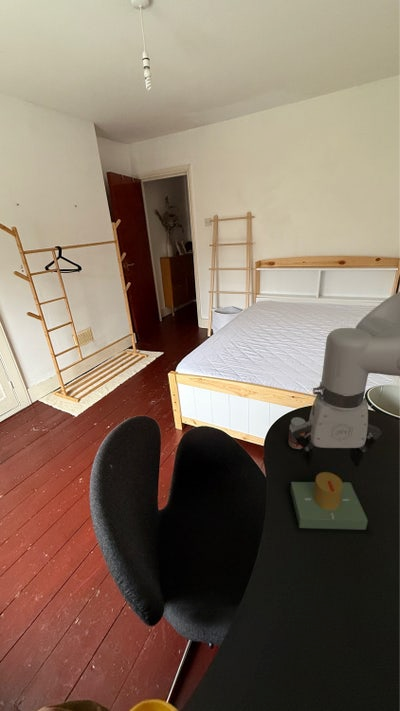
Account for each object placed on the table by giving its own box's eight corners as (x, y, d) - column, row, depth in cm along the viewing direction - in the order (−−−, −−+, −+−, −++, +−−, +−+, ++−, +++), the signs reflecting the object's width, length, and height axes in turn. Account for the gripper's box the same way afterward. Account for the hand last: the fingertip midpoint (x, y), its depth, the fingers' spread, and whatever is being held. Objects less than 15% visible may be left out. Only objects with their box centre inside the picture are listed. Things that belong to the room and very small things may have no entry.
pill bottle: (299, 451, 87) (301, 428, 83) (285, 444, 90) (286, 421, 86) (308, 443, 89) (310, 421, 86) (294, 436, 93) (295, 414, 89)
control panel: (348, 491, 73) (350, 481, 72) (365, 529, 64) (368, 519, 63) (290, 490, 75) (291, 481, 74) (299, 528, 66) (300, 518, 64)
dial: (310, 489, 71) (312, 470, 69) (335, 489, 71) (338, 471, 68) (317, 510, 66) (319, 491, 64) (343, 510, 65) (347, 491, 63)
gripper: (299, 404, 54) (292, 474, 61) (400, 403, 52) (381, 475, 59) (290, 383, 61) (286, 448, 68) (380, 382, 59) (365, 449, 66)
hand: (330, 461), depth 63 cm, fingers open, 9 cm apart
